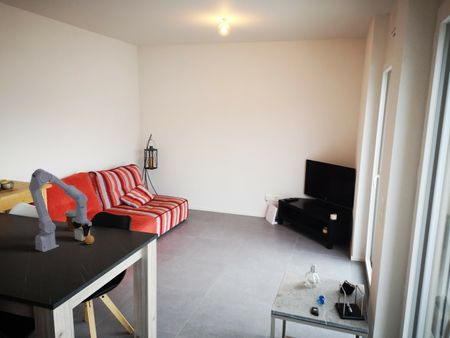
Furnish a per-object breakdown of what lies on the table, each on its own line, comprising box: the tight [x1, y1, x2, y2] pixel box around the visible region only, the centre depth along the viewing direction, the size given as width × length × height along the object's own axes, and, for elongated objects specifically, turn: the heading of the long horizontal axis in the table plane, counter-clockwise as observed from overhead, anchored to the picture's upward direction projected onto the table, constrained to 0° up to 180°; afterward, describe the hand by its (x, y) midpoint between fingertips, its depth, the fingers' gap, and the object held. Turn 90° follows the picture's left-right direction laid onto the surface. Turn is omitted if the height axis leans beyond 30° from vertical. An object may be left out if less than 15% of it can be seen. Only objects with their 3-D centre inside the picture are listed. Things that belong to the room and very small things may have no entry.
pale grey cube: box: [73, 226, 91, 242], centre depth 205 cm, size 6×6×6 cm
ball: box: [84, 234, 95, 245], centre depth 199 cm, size 5×5×5 cm
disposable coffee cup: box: [64, 209, 76, 232], centre depth 220 cm, size 10×10×12 cm
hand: (82, 235), depth 206 cm, fingers closed on pale grey cube, 6 cm apart
